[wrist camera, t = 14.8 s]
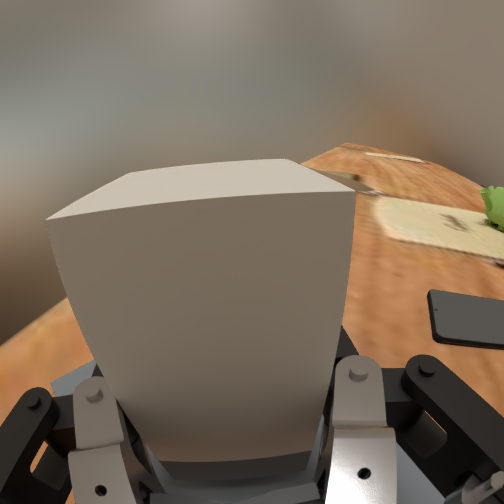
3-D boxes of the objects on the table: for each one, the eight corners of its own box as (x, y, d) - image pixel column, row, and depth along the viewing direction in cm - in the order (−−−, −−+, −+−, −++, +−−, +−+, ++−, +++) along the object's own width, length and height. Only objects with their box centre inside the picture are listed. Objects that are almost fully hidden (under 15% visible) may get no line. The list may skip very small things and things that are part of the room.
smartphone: (566, 348, 10) (435, 336, 16) (562, 357, 10) (431, 345, 16) (544, 305, 16) (427, 287, 22) (540, 313, 16) (425, 295, 22)
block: (356, 191, 4) (305, 469, 8) (285, 158, 9) (283, 380, 13) (44, 220, 4) (173, 479, 8) (129, 172, 8) (180, 388, 12)
